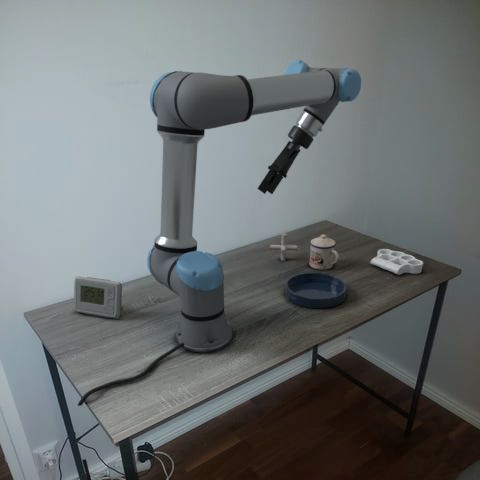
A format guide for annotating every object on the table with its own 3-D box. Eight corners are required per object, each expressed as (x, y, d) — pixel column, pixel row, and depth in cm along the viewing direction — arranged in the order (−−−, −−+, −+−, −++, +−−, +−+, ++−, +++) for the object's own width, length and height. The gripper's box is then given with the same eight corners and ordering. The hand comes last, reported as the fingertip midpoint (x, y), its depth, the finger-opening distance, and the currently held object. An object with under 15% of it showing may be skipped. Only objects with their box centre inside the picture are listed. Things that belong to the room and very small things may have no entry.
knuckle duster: (363, 263, 167) (387, 254, 175) (404, 279, 155) (429, 268, 162) (364, 255, 165) (389, 245, 173) (406, 271, 153) (431, 260, 160)
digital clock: (71, 312, 138) (64, 281, 133) (93, 300, 145) (87, 269, 139) (110, 325, 131) (104, 292, 126) (131, 311, 138) (126, 280, 132)
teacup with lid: (303, 264, 167) (305, 234, 161) (320, 258, 172) (322, 229, 166) (328, 275, 159) (331, 243, 153) (344, 268, 164) (348, 237, 158)
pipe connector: (296, 255, 175) (297, 230, 170) (296, 265, 166) (297, 239, 161) (270, 254, 176) (271, 229, 171) (269, 264, 167) (270, 239, 162)
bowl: (337, 313, 135) (338, 303, 134) (277, 301, 142) (277, 292, 140) (350, 287, 150) (351, 278, 149) (295, 277, 157) (296, 268, 155)
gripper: (311, 132, 124) (267, 198, 132) (317, 143, 148) (280, 198, 155) (289, 117, 125) (247, 183, 132) (298, 130, 148) (262, 185, 155)
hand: (265, 191), depth 144 cm, fingers open, 13 cm apart
